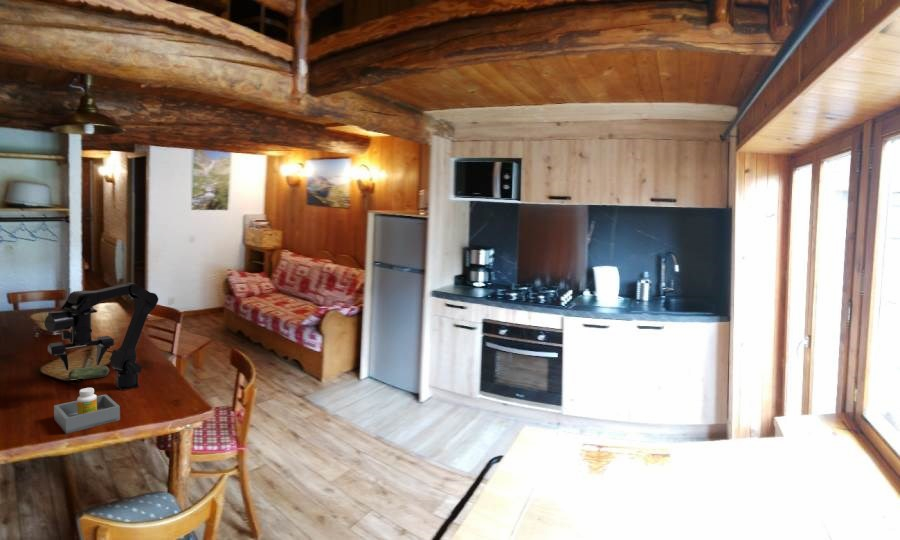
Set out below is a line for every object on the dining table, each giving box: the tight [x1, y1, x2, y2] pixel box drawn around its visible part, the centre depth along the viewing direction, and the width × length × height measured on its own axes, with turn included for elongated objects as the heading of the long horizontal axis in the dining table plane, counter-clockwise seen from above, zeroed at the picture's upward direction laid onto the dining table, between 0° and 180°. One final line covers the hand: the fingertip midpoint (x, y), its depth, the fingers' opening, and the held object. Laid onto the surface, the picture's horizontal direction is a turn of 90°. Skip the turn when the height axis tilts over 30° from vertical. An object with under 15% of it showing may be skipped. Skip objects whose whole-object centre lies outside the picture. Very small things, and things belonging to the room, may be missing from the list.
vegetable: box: [68, 365, 111, 380], centre depth 201 cm, size 14×5×5 cm, turn 129°
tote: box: [53, 394, 121, 435], centre depth 166 cm, size 15×14×5 cm
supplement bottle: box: [76, 387, 98, 415], centre depth 165 cm, size 5×5×10 cm
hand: (82, 367), depth 178 cm, fingers open, 9 cm apart
